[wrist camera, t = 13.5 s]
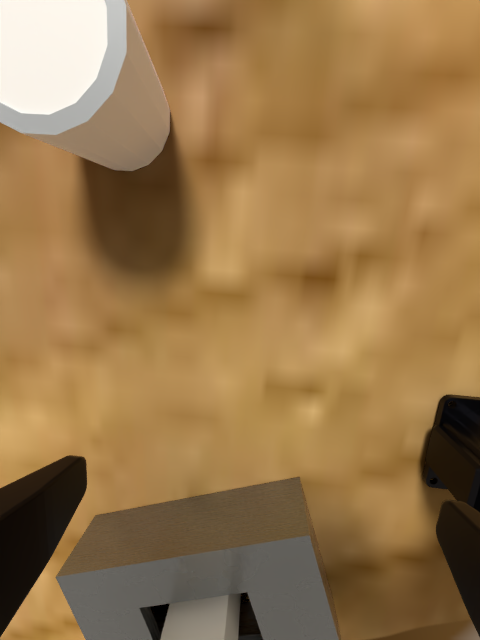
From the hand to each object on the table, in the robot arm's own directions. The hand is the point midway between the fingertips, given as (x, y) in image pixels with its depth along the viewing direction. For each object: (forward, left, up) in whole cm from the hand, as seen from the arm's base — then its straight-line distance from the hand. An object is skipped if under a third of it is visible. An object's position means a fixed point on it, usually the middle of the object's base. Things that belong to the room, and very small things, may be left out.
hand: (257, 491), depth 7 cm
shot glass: (+9, -13, -12) cm, 20 cm away
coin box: (+2, +17, -12) cm, 21 cm away
